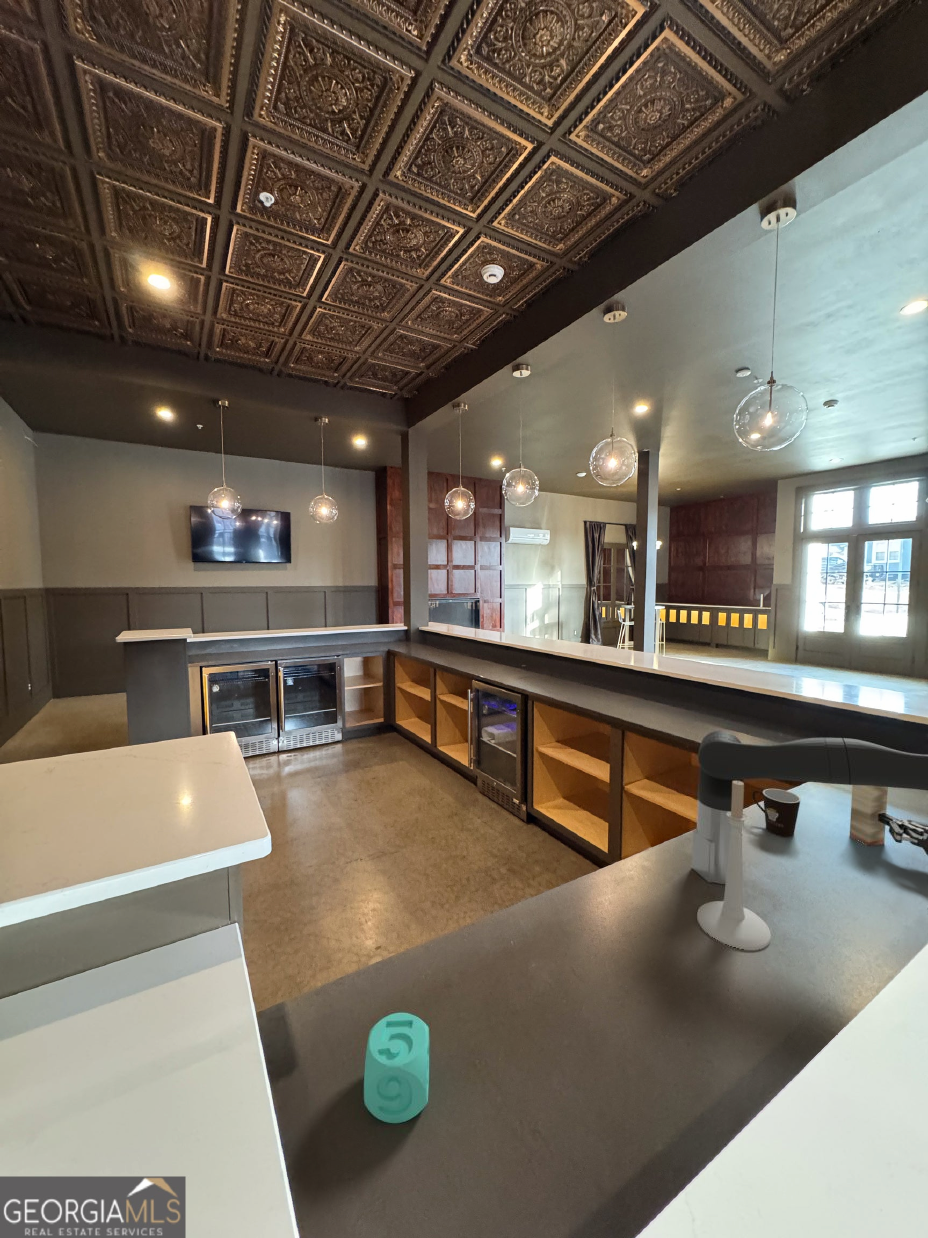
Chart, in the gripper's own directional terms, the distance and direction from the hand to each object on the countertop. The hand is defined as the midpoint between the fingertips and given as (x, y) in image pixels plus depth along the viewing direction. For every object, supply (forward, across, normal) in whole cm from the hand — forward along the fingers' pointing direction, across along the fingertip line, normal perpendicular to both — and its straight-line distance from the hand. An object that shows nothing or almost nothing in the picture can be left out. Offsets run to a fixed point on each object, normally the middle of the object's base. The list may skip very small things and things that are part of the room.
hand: (880, 816), depth 124 cm
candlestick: (-18, +57, +8) cm, 60 cm away
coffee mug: (+13, +18, +8) cm, 24 cm away
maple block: (+3, 0, +8) cm, 9 cm away
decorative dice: (-37, +124, +8) cm, 130 cm away
